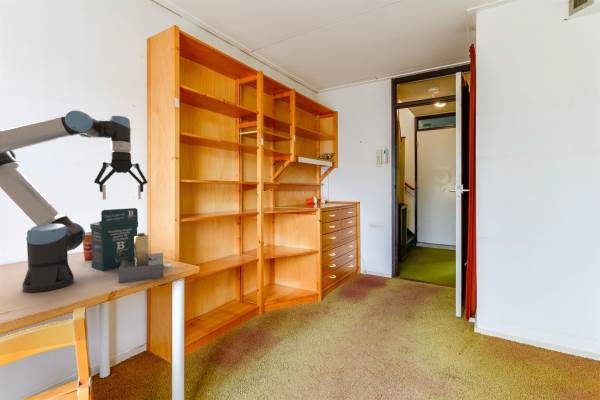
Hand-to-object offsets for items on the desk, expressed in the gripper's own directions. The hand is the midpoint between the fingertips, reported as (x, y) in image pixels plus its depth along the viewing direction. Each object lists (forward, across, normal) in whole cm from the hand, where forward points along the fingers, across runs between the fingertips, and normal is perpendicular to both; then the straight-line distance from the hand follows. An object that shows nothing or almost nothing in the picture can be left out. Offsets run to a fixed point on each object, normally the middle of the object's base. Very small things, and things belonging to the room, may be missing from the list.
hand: (122, 199), depth 130 cm
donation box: (+33, -6, +14) cm, 37 cm away
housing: (+33, +8, -7) cm, 34 cm away
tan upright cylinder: (+27, +8, -14) cm, 31 cm away
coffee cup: (+33, -18, +32) cm, 49 cm away
